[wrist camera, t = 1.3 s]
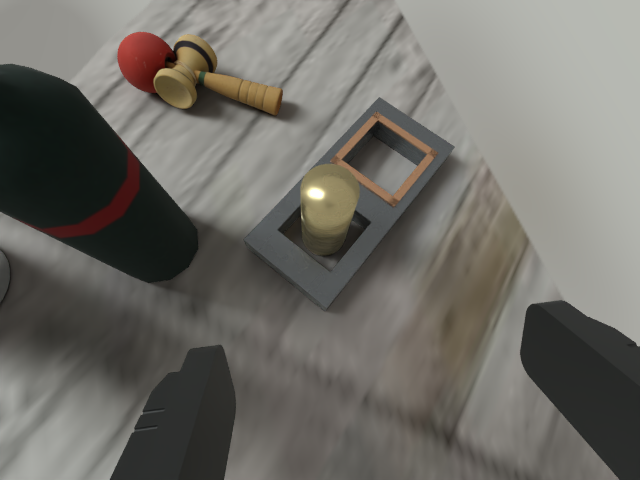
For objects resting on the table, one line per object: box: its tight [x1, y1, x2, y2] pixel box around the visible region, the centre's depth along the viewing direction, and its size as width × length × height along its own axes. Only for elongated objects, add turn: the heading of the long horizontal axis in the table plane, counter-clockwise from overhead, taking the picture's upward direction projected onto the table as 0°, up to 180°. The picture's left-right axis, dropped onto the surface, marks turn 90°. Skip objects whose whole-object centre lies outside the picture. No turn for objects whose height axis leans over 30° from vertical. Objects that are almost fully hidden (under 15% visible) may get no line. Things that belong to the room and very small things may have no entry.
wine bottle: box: [0, 64, 198, 283], centre depth 20 cm, size 8×10×30 cm
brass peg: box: [300, 164, 360, 256], centre depth 31 cm, size 4×4×10 cm
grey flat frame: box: [244, 97, 454, 311], centre depth 35 cm, size 10×22×3 cm, turn 141°
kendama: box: [118, 32, 283, 116], centre depth 39 cm, size 8×6×18 cm
